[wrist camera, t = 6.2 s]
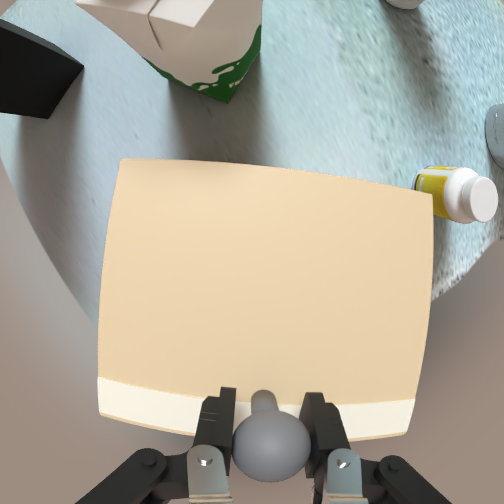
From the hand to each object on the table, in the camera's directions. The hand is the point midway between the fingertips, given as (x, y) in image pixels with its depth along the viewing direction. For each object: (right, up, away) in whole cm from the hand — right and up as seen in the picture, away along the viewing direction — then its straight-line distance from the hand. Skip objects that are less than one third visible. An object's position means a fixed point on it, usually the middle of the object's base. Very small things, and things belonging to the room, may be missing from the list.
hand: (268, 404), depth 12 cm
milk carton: (-5, +26, +13) cm, 30 cm away
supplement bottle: (+19, +14, +16) cm, 29 cm away
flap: (0, +4, +4) cm, 5 cm away
